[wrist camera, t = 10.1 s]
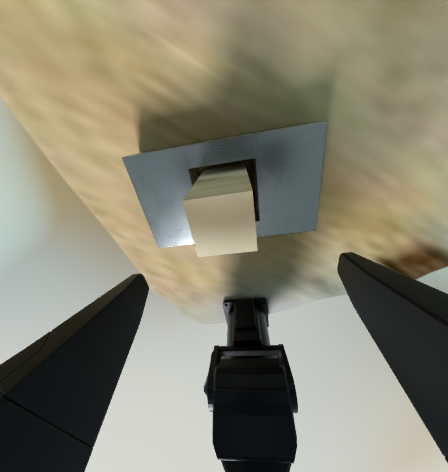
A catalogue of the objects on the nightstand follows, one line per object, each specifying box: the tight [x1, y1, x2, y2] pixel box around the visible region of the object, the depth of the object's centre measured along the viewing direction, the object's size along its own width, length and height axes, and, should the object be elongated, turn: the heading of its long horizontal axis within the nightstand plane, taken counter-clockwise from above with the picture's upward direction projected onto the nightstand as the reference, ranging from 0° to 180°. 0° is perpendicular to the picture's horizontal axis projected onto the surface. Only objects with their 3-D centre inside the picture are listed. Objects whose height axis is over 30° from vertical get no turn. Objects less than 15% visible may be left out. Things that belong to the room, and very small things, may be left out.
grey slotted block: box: [122, 121, 327, 248], centre depth 18 cm, size 9×16×3 cm, turn 99°
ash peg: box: [182, 164, 258, 257], centre depth 15 cm, size 4×4×9 cm
